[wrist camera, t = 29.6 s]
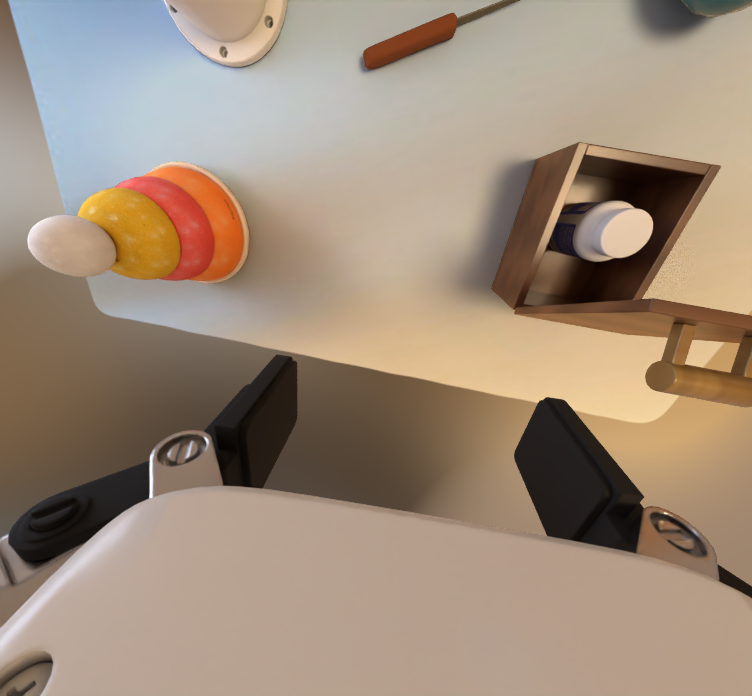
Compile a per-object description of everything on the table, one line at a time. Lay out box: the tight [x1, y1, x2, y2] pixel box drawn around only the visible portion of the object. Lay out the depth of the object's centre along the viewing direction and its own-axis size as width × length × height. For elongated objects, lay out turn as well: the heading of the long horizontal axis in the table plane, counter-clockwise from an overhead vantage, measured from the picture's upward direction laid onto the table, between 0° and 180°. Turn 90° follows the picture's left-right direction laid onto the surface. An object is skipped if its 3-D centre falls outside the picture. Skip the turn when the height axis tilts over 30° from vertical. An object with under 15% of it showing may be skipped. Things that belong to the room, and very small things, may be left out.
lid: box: [514, 298, 752, 407], centre depth 22 cm, size 15×12×5 cm
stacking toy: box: [28, 161, 250, 283], centre depth 29 cm, size 14×14×20 cm
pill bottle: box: [548, 201, 653, 262], centre depth 29 cm, size 5×5×10 cm
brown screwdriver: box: [363, 0, 519, 69], centre depth 27 cm, size 16×1×2 cm, turn 105°
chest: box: [491, 142, 721, 310], centre depth 30 cm, size 15×12×9 cm
